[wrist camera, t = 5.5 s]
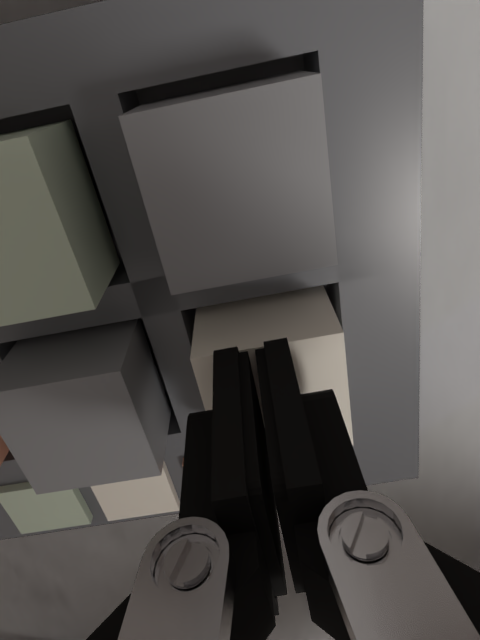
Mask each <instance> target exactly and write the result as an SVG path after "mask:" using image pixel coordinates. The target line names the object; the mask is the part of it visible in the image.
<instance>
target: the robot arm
mask: <svg viewBox="0 0 480 640" xmlns="http://www.w3.org/2000/svg"><path fill="white" fill-rule="evenodd" d="M263 343H264V348H261V349H256V350H255V354H256V362H257V370H258V378H259V386H260V394H261V402H262V410H263V418H264V423H263V418H262V414H261V409H260V404H259V400H258V395H257V391H256V386H255V381H254V377H253V372H252V368H251V363H250V358H249V354H248V351H245V352H239V350H238V347H231V348H225V349H220V350H214V351H213V401H212V410H207V411H201V412H195V413H190V414H189V415H188V418H187V426H186V438H185V450H184V462H183V474H182V486H181V498H180V510H179V520H176V521H174V522H172V523H170V524H168V525H166V526H165V527H164V528H163V529H161V530H160V531H159V532H157V533H156V535H155V536H154V537H153V538H152V540H151V541H150V542H149V543H148V545H147V547H146V549H145V552H144V554H143V556H142V559H141V562H140V566H139V569H138V572H137V576H136V579H135V582H134V586H133V589H132V593H131V594H130V595H129V596H128V597H127V598H126V599H125V600H124V601H123V602H122V603H121V604H120V605H119V606H118V607H117V608H116V609H115V610H114V611H113V612H112V613H111V614H110V616H109V617H108V618H107V619H106V620H105V621H104V622H103V623H102V624H101V625H100V626H99V627H98V628H97V629H96V630H95V631H94V632H93V633H92V634H91V635H90V636H89V637H88V638H87V639H86V640H266V639H267V637H268V636H269V634H270V633H271V632H272V630H273V629H274V627H275V626H276V624H275V615H279V611H278V602H277V596H281V595H287V588H286V580H285V572H284V564H283V556H282V549H281V541H280V533H279V525H278V517H277V512H278V516H279V521H280V525H281V530H282V534H283V538H284V543H285V547H286V552H287V556H288V560H289V565H290V569H291V574H292V578H293V582H294V587H295V591H296V593H301V592H306V595H307V600H308V605H309V610H310V615H311V619H312V621H313V622H314V623H315V624H317V625H318V626H319V627H320V628H322V629H323V630H324V631H325V632H327V633H328V634H329V635H330V636H332V637H333V638H334V639H335V640H480V573H479V572H478V571H476V570H474V569H472V568H470V567H469V566H467V565H465V564H463V563H461V562H460V561H458V560H456V559H454V558H452V557H451V556H449V555H447V554H445V553H443V552H442V551H440V550H438V549H436V548H434V547H433V546H431V545H429V544H427V543H425V542H424V541H423V540H422V538H421V537H420V535H419V533H418V532H417V530H416V528H415V527H414V525H413V523H412V522H411V520H410V518H409V517H408V515H407V514H406V513H405V512H404V510H403V509H402V508H401V507H400V506H399V505H398V504H397V503H395V502H394V501H393V500H391V499H390V498H388V497H387V496H384V495H381V494H379V493H376V492H372V491H368V490H367V487H366V484H365V481H364V478H363V475H362V472H361V469H360V466H359V463H358V460H357V457H356V455H355V452H354V449H353V446H352V443H351V440H350V437H349V434H348V431H347V428H346V425H345V422H344V420H343V417H342V414H341V411H340V408H339V405H338V402H337V399H336V396H335V394H334V391H333V390H332V389H329V390H323V391H317V392H311V393H305V394H301V393H300V389H299V385H298V381H297V377H296V373H295V369H294V365H293V360H292V356H291V352H290V348H289V344H288V340H287V337H286V338H281V339H275V340H270V341H264V342H263ZM264 426H265V427H264ZM276 508H277V510H276Z"/></svg>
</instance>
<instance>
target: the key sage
mask: <svg viewBox="0 0 480 640" xmlns="http://www.w3.org/2000/svg"><path fill="white" fill-rule="evenodd" d="M119 264H120V261H119V258H118V255H117V252H116V249H115V246H114V243H113V240H112V237H111V234H110V232H109V229H108V226H107V223H106V220H105V217H104V214H103V211H102V208H101V205H100V202H99V200H98V197H97V194H96V191H95V188H94V185H93V182H92V179H91V176H90V173H89V171H88V168H87V165H86V162H85V159H84V156H83V153H82V150H81V147H80V144H79V141H78V139H77V136H76V133H75V130H74V127H73V124H72V121H71V119H70V120H65V121H60V122H56V123H51V124H46V125H42V126H37V127H32V128H28V129H23V130H18V131H14V132H9V133H4V134H0V327H1V326H7V325H12V324H17V323H23V322H28V321H34V320H39V319H45V318H50V317H56V316H61V315H67V314H72V313H78V312H83V311H88V310H94V309H96V308H97V306H98V304H99V302H100V300H101V298H102V296H103V294H104V292H105V290H106V288H107V287H108V285H109V283H110V281H111V279H112V277H113V275H114V273H115V271H116V269H117V268H118V266H119Z"/></svg>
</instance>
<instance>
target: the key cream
mask: <svg viewBox="0 0 480 640" xmlns="http://www.w3.org/2000/svg"><path fill="white" fill-rule="evenodd" d="M286 337H287V340H288V344H289V348H290V352H291V356H292V360H293V365H294V369H295V373H296V377H297V381H298V385H299V389H300V393H301V394H305V393H311V392H317V391H323V390H329V389H332V390H333V391H334V394H335V396H336V399H337V402H338V405H339V408H340V411H341V414H342V417H343V420H344V422H345V425H346V428H347V431H348V434H349V437H350V440H351V443H352V446H354V444H353V432H352V421H351V409H350V398H349V386H348V375H347V364H346V352H345V341H344V332H343V330H342V327H341V325H340V323H339V320H338V318H337V316H336V313H335V311H334V309H333V307H332V304H331V302H330V300H329V297H328V295H327V293H326V290H325V288H324V286H323V285H321V286H315V287H310V288H304V289H299V290H293V291H287V292H282V293H276V294H271V295H265V296H260V297H254V298H249V299H243V300H238V301H232V302H226V303H221V304H215V305H210V306H204V307H199V308H196V313H195V322H194V330H193V338H192V347H191V355H190V361H191V364H192V368H193V371H194V374H195V378H196V381H197V384H198V388H199V391H200V395H201V398H202V401H203V405H204V408H205V411H207V410H212V401H213V351H214V350H220V349H225V348H231V347H238V350H239V352H245V351H248V354H249V358H250V363H251V368H252V372H253V377H254V381H255V386H256V391H257V395H258V400H259V404H260V409H261V414H262V418H263V410H262V402H261V394H260V386H259V378H258V370H257V362H256V354H255V350H256V349H261V348H264V343H263V342H264V341H270V340H275V339H281V338H286ZM263 423H264V418H263ZM264 427H265V426H264Z"/></svg>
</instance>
